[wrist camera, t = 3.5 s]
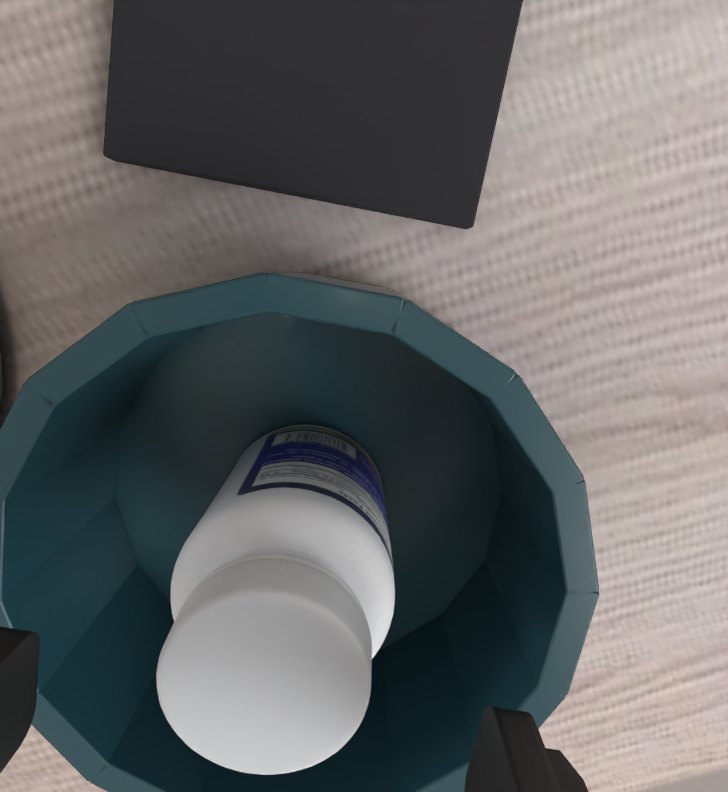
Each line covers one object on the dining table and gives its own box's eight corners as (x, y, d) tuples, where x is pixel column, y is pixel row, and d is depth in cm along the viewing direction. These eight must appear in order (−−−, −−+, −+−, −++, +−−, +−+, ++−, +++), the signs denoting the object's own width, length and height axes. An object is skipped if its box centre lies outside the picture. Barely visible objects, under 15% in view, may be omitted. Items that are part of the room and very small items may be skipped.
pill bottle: (304, 591, 19) (257, 851, 11) (198, 489, 18) (54, 683, 10) (417, 499, 19) (464, 698, 10) (312, 388, 18) (263, 500, 9)
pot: (115, 236, 17) (-27, 217, 11) (567, 321, 18) (677, 348, 11) (84, 638, 20) (-39, 799, 14) (466, 697, 21) (510, 876, 15)
